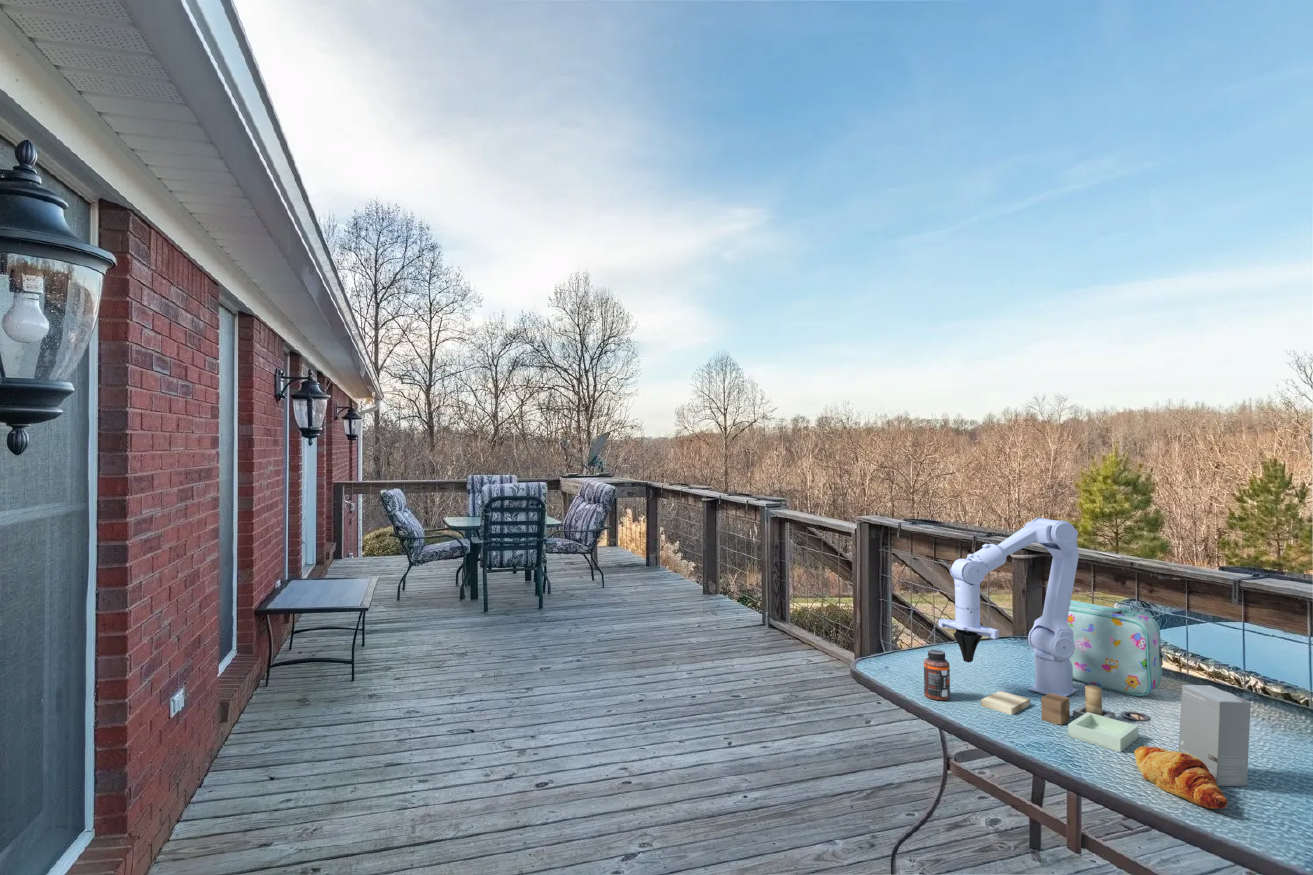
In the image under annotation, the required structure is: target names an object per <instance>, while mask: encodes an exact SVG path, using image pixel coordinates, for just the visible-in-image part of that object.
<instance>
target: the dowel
mask: <svg viewBox="0 0 1313 875" xmlns="http://www.w3.org/2000/svg"><path fill="white" fill-rule="evenodd" d="M1084 697H1085V698H1084V700H1085V704H1084V705H1085V709H1086V713H1087V712H1089V713H1093V714H1097V715H1100V716H1102V710H1103V688H1100V687H1097V686H1093V685H1090V684H1088V685H1085V686H1084Z"/></svg>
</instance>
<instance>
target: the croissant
mask: <svg viewBox="0 0 1313 875" xmlns="http://www.w3.org/2000/svg"><path fill="white" fill-rule="evenodd" d="M1133 753H1134V757H1135V759H1134V760H1135V765H1136V766H1137V769H1138V771H1139V772H1140V773H1141V774H1142V778H1143V779H1144V780H1147V781H1148V782H1149V783H1152V784H1154V785H1155V786H1156V787H1157V788H1158V789H1160V790H1163V791H1164V792H1166V793H1170V794H1172V795H1174V796H1177V797H1180V798H1183V799H1185V800H1186V801H1189V802H1190V803H1192V804H1196V805H1198V806H1200V807H1204V808H1207V809H1212V810H1213V809H1214V810H1215V809H1216V810H1217V809H1221V810H1222V809H1225V808H1227V806H1228V801H1229V800H1228V799H1227V798H1226V797H1225V795H1224V793H1223V790H1221V789H1220V786H1217V784H1216V779H1215V778H1214V776H1213V775H1212V774H1211V773H1209V770H1208V768H1207V766H1206V765H1205V763H1203V762H1202V761H1201V760H1200V759H1199V758H1196V757H1194V756H1192V755H1190V754H1187V753H1182V752H1178V750H1177V751H1175V750H1168V749H1165V748H1162V747H1158V746H1153V747H1152V746H1146V745H1144V746H1139V747H1138V748H1136V749H1135V750H1134V752H1133Z"/></svg>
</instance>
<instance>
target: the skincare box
mask: <svg viewBox="0 0 1313 875" xmlns="http://www.w3.org/2000/svg"><path fill="white" fill-rule="evenodd" d="M1180 700H1181V701H1180V718H1179V734H1178V750H1177V752H1182V753H1187V754H1190V755H1192V756H1194V757H1196V758H1199V759H1200V760H1201V761H1202V762H1203V763H1205V765H1206V766H1207V768H1208V770H1209V773H1211V774H1212V775H1213V776H1214V778H1215V779H1216V784H1217V786H1218V787H1227V786H1228V787H1229V786H1230V787H1233V786H1235V787H1238V786H1239V787H1240V786H1241V787H1242V786H1247V785H1248V770H1249V769H1248V767H1249V750H1250V749H1249V746H1250V745H1249V744H1250V726H1251V706H1252V702H1251V701H1249V700H1246V699H1244V698H1241V697H1239V696H1236V695H1235V694H1233V693H1231V692H1229V691H1225V690H1222V689H1220V688H1217V687H1215V686H1212V685H1208V684H1207V685H1203V684H1201V685H1200V684H1199V685H1198V684H1182V685H1181V697H1180Z"/></svg>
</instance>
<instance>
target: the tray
mask: <svg viewBox="0 0 1313 875" xmlns="http://www.w3.org/2000/svg"><path fill="white" fill-rule="evenodd" d="M1067 728H1068V729H1067V734H1068V737H1070V738H1073V739H1074V740H1075V739H1076V740H1078V741H1083V742H1086V743H1088V744H1092V745H1095V746H1099V747H1102V748H1104V749H1108V750H1112V751H1115V752H1118V753H1122V752H1123V751H1124V750H1125V749H1126V748H1128V747H1129V746H1131V745H1132V744H1133V743H1134V742H1136V741H1137V740H1138V739H1139V725H1137V724H1133V723H1130V722H1125V721H1122V720H1118V719H1116V718H1115V719H1111V718H1108V717H1104V716H1100V715H1097V714H1093V713H1089V712H1087V713H1085V714H1084V715H1082V716H1080V717H1079V718H1075V719H1074V720H1072V721H1071V722H1070V723H1068V724H1067Z"/></svg>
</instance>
